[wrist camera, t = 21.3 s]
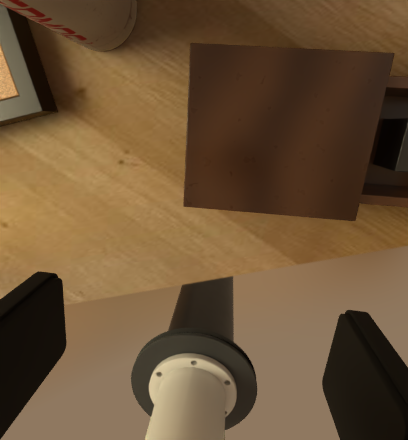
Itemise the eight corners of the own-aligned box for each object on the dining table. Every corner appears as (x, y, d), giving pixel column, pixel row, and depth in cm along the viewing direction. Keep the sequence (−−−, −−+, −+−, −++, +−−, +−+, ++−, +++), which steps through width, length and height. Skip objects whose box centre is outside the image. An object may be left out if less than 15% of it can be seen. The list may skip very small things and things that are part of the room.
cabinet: (348, 72, 30) (394, 52, 21) (324, 195, 34) (355, 221, 25) (202, 64, 31) (190, 42, 22) (195, 185, 35) (183, 206, 26)
